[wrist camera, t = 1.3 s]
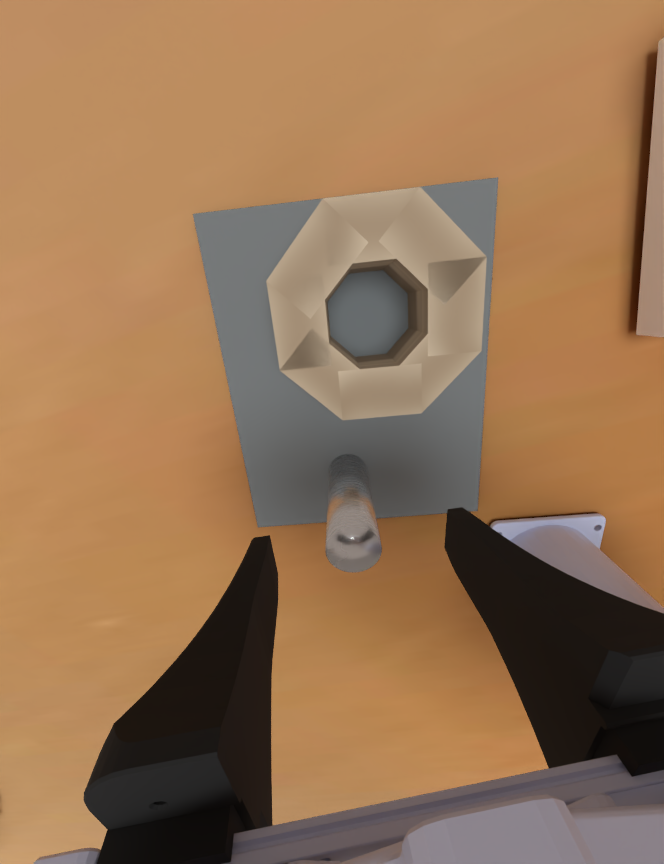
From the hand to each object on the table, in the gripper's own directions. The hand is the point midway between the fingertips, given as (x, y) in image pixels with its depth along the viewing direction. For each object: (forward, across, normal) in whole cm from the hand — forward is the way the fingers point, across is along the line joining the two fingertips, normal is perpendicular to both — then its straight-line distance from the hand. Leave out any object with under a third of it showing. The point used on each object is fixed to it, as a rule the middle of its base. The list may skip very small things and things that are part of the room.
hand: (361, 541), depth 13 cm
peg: (+9, -1, +3) cm, 10 cm away
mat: (+10, -2, -3) cm, 11 cm away
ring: (+10, -3, -7) cm, 13 cm away
